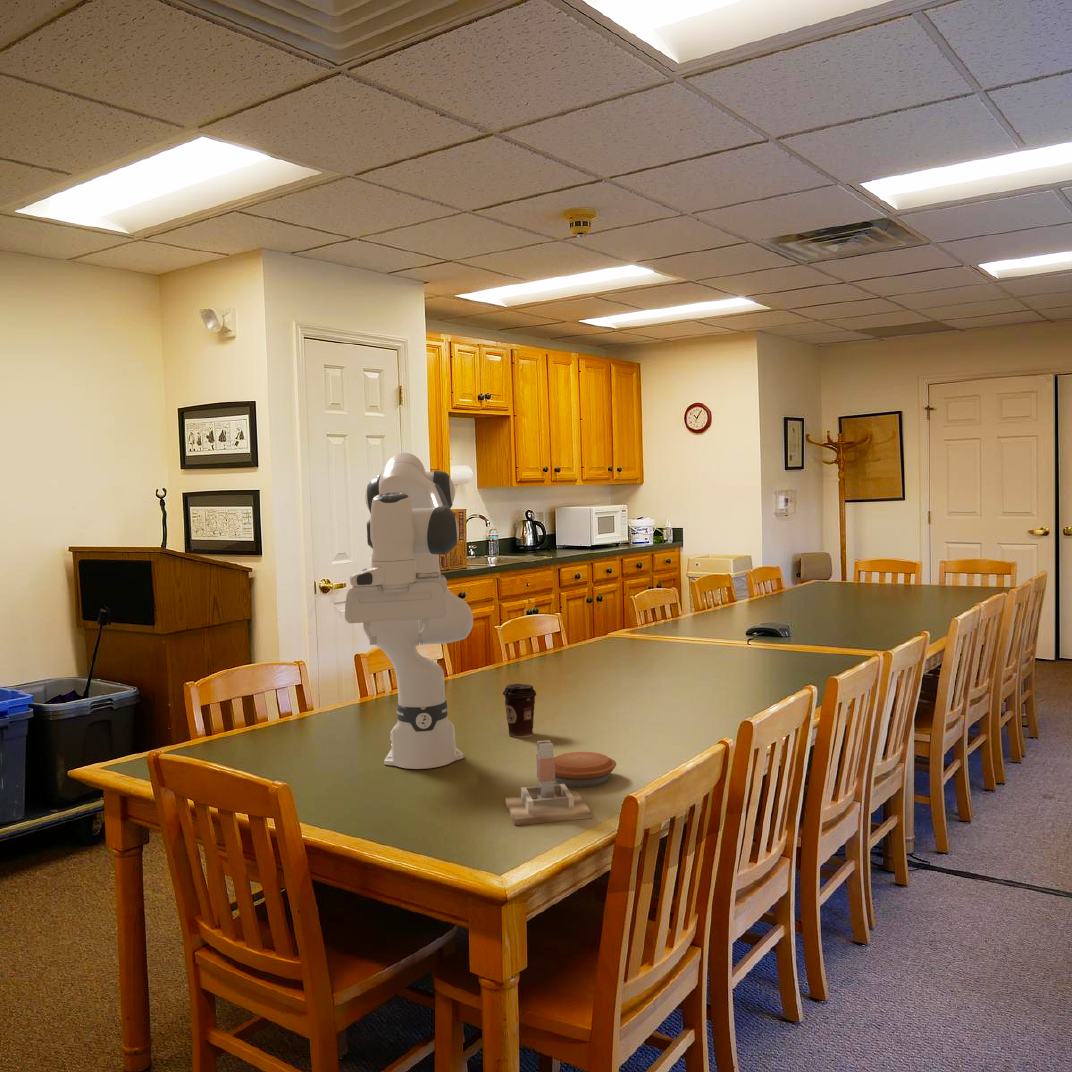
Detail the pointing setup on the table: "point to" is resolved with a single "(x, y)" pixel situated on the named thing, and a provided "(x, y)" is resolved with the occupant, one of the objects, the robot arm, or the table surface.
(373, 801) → the table surface
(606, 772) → the pie
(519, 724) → the coffee cup
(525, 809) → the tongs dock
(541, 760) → the grey orange upright bar
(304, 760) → the table surface
